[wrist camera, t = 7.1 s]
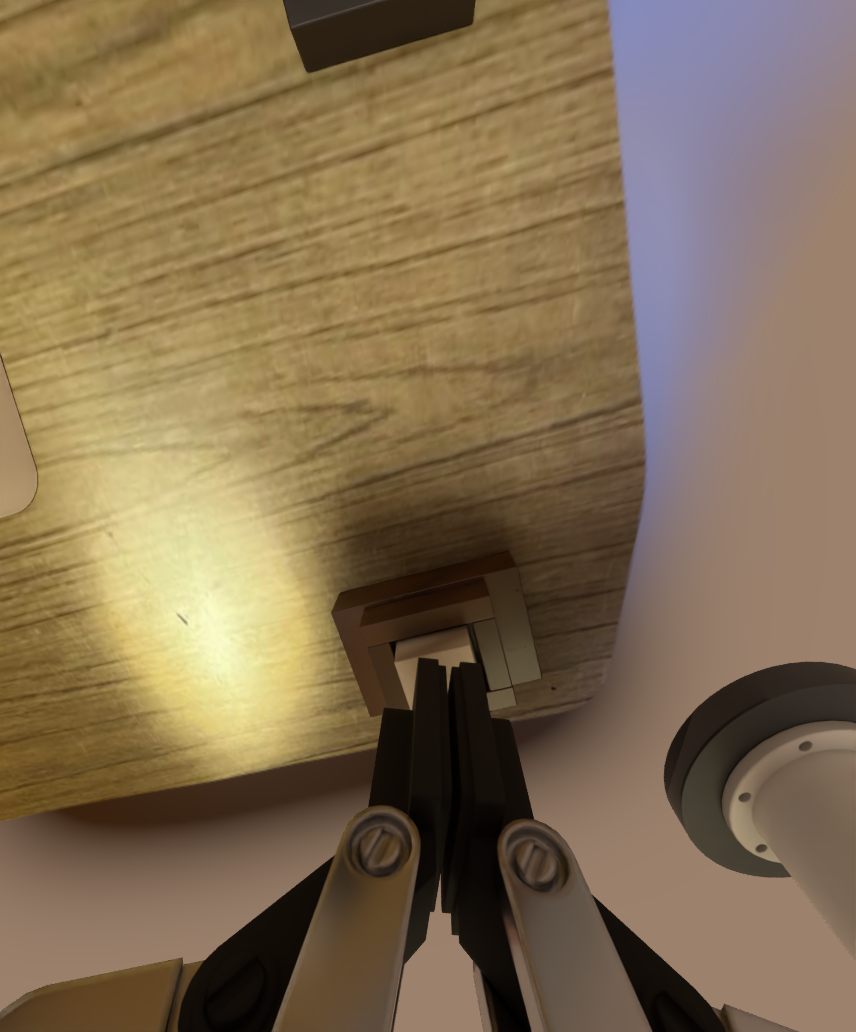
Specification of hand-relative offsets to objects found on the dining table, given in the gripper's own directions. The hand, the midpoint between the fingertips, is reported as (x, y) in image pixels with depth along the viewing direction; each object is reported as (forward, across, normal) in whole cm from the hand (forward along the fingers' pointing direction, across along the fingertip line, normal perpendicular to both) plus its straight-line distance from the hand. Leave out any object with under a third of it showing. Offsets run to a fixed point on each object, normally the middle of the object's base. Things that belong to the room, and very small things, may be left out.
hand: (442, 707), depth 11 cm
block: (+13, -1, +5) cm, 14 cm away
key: (+9, -1, +5) cm, 10 cm away
